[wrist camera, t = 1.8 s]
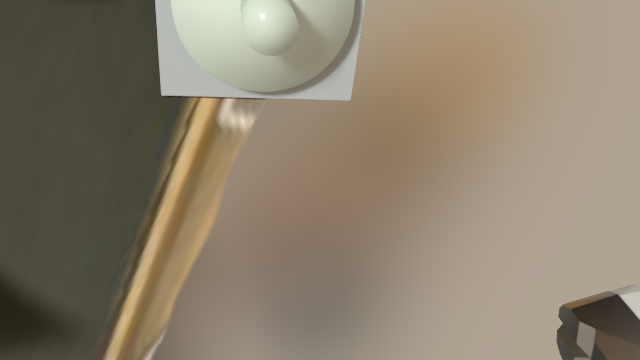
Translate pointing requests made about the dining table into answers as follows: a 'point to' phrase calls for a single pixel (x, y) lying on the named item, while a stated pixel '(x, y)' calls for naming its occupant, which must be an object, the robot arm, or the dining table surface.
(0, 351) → the dining table surface
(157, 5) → the mat
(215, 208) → the dining table surface
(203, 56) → the lid
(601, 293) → the robot arm
